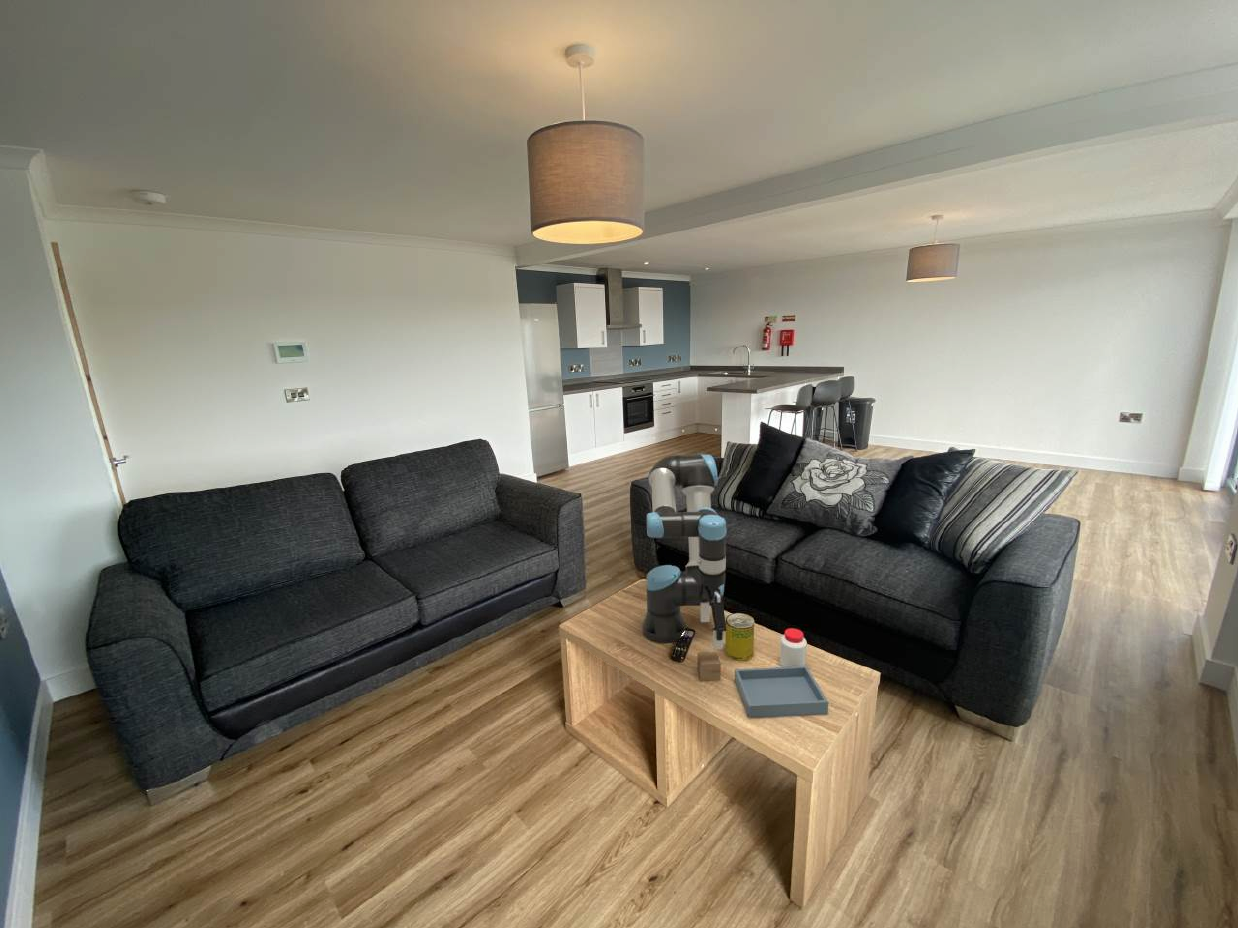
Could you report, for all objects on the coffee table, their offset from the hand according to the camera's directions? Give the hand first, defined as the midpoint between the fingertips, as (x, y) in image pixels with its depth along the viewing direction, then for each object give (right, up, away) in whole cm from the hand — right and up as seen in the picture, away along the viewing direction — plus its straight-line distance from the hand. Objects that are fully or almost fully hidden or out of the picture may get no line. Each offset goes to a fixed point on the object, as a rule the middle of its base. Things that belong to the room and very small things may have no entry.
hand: (711, 634), depth 151 cm
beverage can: (+12, -12, +16) cm, 23 cm away
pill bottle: (+27, -13, +9) cm, 31 cm away
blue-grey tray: (+18, -16, -5) cm, 25 cm away
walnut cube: (0, -15, +6) cm, 16 cm away
